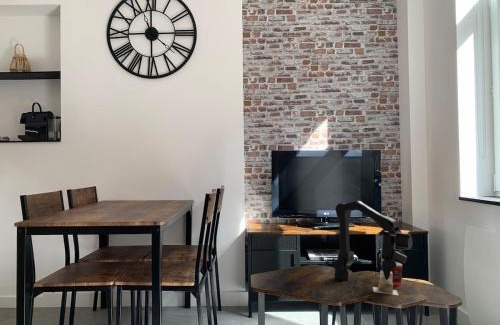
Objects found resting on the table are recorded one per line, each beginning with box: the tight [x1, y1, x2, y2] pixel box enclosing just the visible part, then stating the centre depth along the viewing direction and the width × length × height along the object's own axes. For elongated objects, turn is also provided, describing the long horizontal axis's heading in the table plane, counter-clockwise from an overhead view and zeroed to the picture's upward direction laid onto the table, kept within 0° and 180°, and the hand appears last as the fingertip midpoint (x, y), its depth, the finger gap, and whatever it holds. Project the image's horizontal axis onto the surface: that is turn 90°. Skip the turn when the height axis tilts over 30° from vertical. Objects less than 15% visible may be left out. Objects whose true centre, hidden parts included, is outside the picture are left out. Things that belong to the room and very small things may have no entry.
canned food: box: [391, 261, 403, 287], centre depth 195 cm, size 8×8×11 cm
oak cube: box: [379, 269, 393, 285], centre depth 180 cm, size 5×5×5 cm
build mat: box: [372, 286, 399, 296], centre depth 180 cm, size 11×8×1 cm
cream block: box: [377, 279, 394, 295], centre depth 180 cm, size 6×6×4 cm
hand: (386, 277), depth 180 cm, fingers open, 6 cm apart
